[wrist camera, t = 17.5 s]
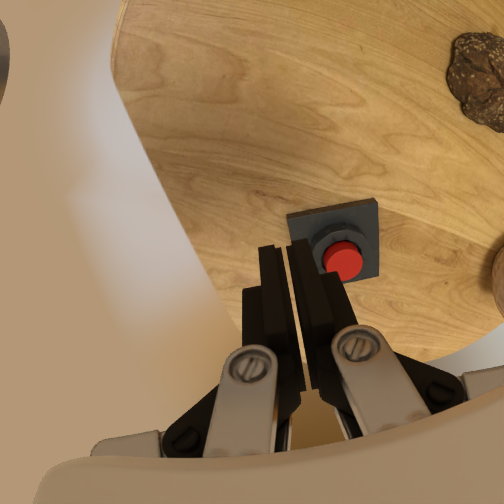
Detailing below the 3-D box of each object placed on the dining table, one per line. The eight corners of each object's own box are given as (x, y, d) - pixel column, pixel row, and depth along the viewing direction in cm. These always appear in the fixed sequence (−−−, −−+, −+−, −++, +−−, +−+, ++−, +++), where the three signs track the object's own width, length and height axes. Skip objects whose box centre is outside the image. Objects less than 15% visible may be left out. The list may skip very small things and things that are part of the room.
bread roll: (519, 50, 21) (545, 53, 16) (512, 137, 27) (537, 148, 23) (445, 15, 21) (472, 11, 16) (441, 116, 27) (467, 125, 23)
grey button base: (299, 286, 39) (302, 302, 36) (286, 214, 34) (289, 227, 31) (376, 270, 38) (383, 284, 35) (374, 197, 32) (383, 208, 30)
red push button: (325, 275, 35) (328, 284, 33) (321, 244, 33) (324, 253, 31) (358, 267, 34) (363, 277, 33) (357, 237, 32) (362, 246, 31)
